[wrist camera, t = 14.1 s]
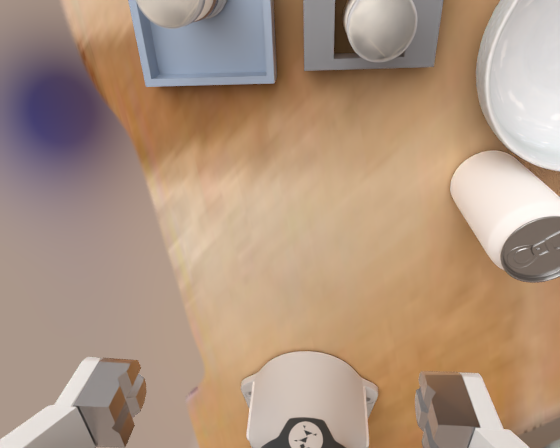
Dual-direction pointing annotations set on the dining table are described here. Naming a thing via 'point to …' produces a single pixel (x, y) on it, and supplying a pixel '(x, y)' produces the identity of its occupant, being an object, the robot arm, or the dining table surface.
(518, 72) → the cereal bowl
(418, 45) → the block
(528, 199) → the can
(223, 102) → the dining table surface
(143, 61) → the parts tray
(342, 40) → the dining table surface
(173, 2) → the fuse
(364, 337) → the dining table surface
